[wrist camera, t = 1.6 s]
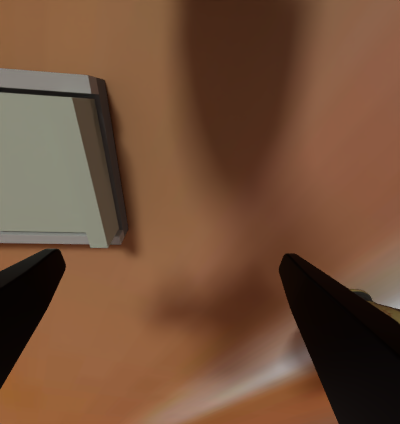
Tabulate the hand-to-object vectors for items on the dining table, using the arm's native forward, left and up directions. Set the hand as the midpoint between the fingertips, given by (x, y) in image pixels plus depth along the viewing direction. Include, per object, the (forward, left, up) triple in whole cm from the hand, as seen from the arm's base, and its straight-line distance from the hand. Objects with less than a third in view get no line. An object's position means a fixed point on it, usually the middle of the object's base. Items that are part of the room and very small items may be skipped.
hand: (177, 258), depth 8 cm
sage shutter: (+12, 0, -10) cm, 16 cm away
